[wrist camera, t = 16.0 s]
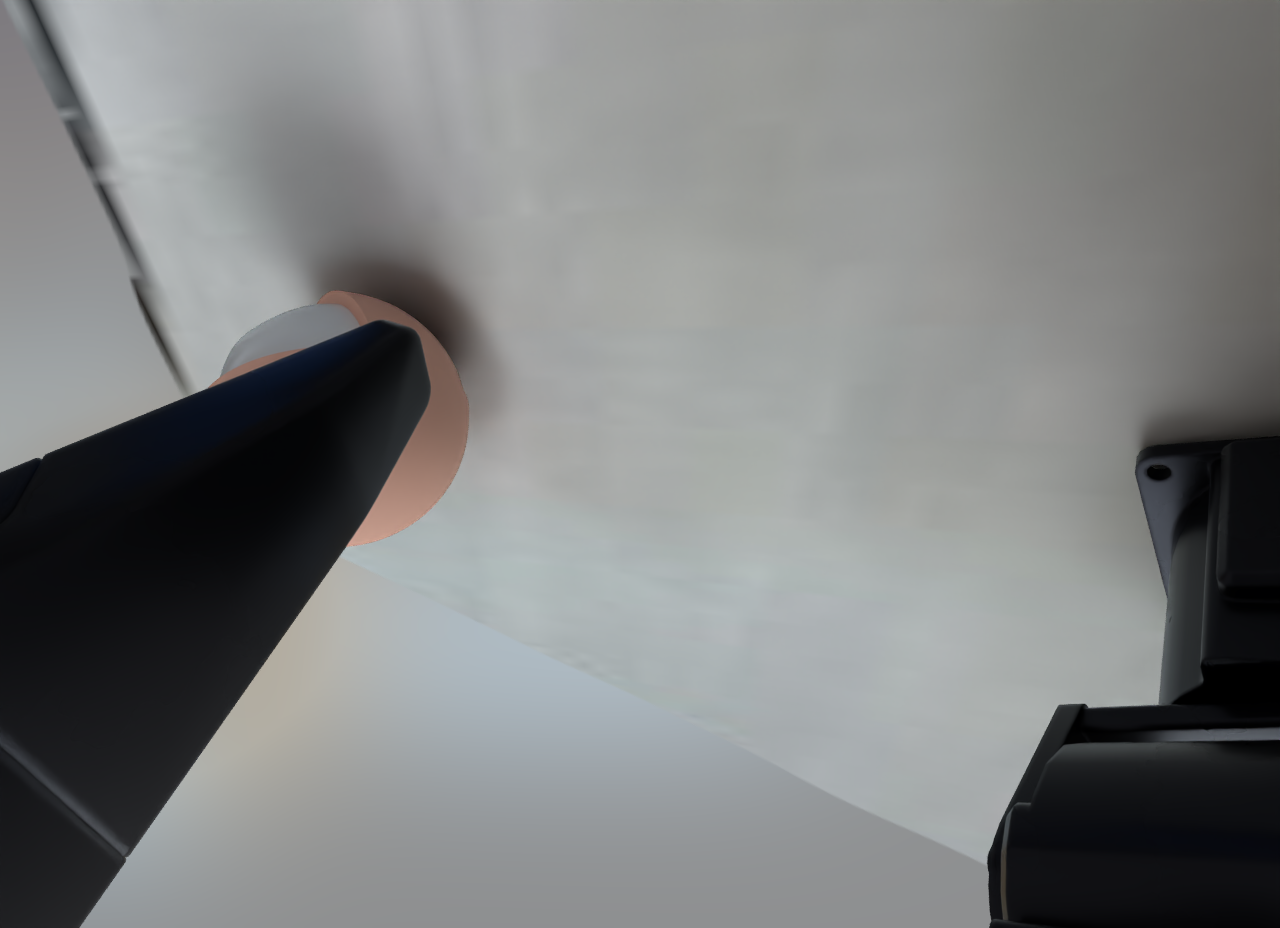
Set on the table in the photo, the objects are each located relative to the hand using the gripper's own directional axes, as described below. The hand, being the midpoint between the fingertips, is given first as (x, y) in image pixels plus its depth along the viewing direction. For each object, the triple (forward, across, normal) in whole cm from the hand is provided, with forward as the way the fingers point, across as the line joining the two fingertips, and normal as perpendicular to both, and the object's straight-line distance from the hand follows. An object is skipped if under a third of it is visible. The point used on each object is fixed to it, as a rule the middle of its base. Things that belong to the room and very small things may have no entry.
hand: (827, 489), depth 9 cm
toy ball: (+13, +16, +14) cm, 25 cm away
